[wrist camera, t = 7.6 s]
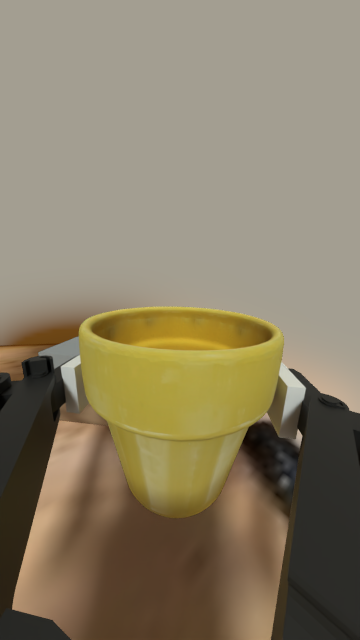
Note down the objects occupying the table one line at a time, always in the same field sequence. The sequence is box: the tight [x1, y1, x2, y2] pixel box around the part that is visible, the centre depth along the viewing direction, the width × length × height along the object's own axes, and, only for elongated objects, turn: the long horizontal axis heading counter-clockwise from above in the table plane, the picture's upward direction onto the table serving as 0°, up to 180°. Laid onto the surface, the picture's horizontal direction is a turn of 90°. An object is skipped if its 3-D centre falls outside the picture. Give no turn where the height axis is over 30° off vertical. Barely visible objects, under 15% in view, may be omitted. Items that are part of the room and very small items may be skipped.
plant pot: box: [79, 307, 284, 518], centre depth 11 cm, size 10×10×10 cm
